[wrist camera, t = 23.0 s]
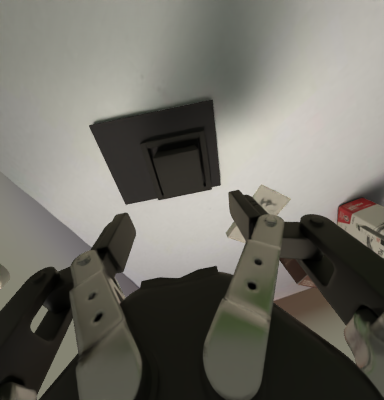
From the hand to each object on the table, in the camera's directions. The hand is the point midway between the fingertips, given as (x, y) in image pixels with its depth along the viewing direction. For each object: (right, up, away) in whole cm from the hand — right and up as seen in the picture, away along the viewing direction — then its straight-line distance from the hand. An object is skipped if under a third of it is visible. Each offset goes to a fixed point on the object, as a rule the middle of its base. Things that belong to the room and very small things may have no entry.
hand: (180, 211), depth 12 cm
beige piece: (+14, -2, +19) cm, 23 cm away
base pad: (-3, +7, +11) cm, 14 cm away
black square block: (-1, +6, +11) cm, 12 cm away
